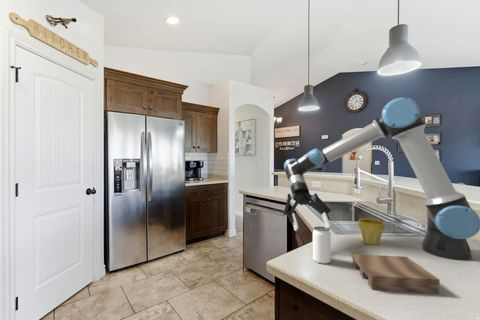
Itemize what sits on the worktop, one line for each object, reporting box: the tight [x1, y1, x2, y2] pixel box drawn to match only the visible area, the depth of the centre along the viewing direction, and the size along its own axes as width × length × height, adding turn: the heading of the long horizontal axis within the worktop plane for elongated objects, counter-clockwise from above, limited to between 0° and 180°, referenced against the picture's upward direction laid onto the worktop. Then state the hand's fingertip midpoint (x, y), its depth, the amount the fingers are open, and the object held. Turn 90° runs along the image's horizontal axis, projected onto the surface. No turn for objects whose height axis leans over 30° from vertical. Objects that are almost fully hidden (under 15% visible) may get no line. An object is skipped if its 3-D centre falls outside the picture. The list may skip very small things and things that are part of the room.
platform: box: [352, 253, 441, 294], centre depth 76 cm, size 18×16×4 cm
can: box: [312, 226, 332, 265], centre depth 89 cm, size 6×6×12 cm
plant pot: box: [358, 218, 385, 246], centre depth 108 cm, size 10×10×10 cm
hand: (312, 228), depth 94 cm, fingers open, 13 cm apart
